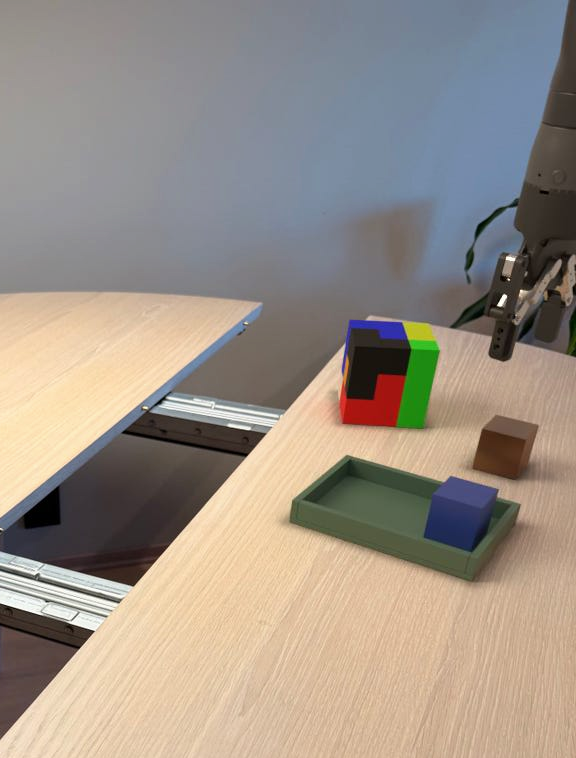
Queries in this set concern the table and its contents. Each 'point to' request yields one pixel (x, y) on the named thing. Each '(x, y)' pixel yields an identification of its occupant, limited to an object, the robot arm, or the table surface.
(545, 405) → the table surface
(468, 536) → the blue cube
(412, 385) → the puzzle toy
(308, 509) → the tray
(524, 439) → the brown cube
